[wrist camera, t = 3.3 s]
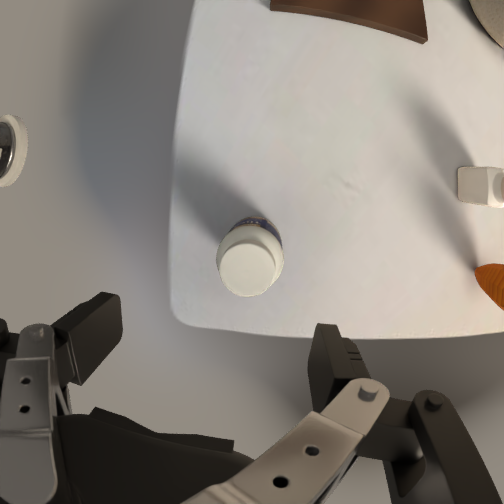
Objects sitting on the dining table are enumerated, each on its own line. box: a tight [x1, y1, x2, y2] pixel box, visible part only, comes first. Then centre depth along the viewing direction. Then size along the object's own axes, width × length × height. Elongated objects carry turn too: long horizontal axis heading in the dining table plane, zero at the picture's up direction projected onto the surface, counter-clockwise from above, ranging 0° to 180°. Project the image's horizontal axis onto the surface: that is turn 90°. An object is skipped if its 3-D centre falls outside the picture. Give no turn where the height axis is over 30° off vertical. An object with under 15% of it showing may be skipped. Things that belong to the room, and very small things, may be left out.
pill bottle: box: [216, 217, 284, 297], centre depth 26 cm, size 5×5×10 cm
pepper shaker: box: [458, 167, 504, 208], centre depth 22 cm, size 4×4×10 cm
